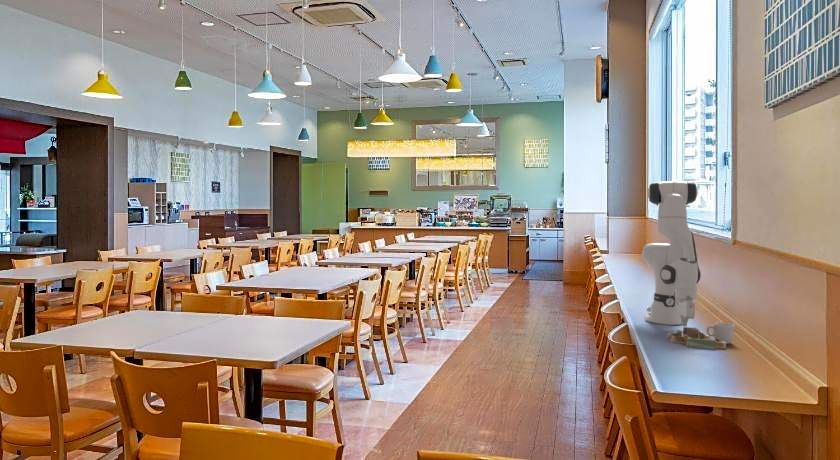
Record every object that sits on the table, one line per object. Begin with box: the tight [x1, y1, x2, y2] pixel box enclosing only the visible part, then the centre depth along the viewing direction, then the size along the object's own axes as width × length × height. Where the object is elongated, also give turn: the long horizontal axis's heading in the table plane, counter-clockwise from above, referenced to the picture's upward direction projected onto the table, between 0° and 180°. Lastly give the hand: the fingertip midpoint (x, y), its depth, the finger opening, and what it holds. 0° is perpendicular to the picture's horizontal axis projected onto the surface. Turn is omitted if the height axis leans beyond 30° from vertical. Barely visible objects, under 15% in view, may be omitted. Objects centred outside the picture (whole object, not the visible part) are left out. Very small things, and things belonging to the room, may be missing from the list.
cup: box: [706, 322, 736, 345], centre depth 276 cm, size 11×8×8 cm
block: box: [682, 326, 700, 339], centre depth 279 cm, size 5×5×5 cm
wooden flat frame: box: [666, 329, 727, 350], centre depth 272 cm, size 18×19×4 cm
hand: (684, 325), depth 286 cm, fingers closed
